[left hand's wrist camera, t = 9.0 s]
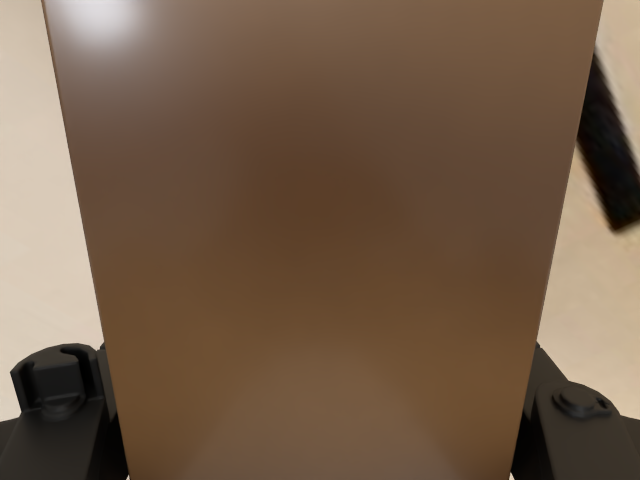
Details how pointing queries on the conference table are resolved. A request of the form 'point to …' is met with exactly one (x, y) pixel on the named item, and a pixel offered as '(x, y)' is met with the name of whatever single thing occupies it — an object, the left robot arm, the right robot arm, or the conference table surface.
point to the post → (320, 224)
